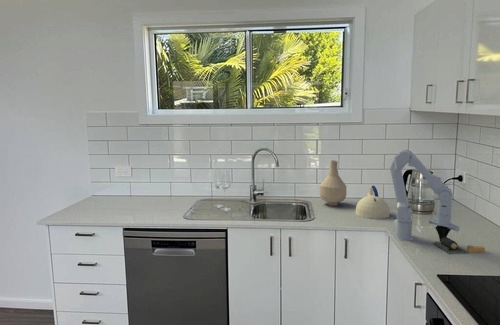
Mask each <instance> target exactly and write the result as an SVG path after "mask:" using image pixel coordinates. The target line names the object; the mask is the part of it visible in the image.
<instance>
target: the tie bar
mask: <svg viewBox="0 0 500 325" xmlns="http://www.w3.org/2000/svg"><path fill="white" fill-rule="evenodd" d="M485 249H486V248H485V246H482V245H477V246H475V245H474V246H473V245H472V244H471V245H470V244H469V245H467V246H466V252H468V253H485Z"/></svg>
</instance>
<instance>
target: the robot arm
mask: <svg viewBox="0 0 500 325" xmlns="http://www.w3.org/2000/svg"><path fill="white" fill-rule="evenodd" d="M406 165H407V166H408V167H412V168H415V169H416V170H417V171H418V172H419V174H421V175H422V176H423V177H424V179H426V182H425V184H426V185H427V186H428V187H429V188H430V189H431V190H432V192H433V193H435V194H436V195H437V198H438V204H437V216H436V219H433V218H428V224H432V225H435V227H434V228H435V231H436V233H437V235H438V239H439V242H441V239H442V238H443V237H447V238H448V235H449V233H450V231H451V230H453V231H454V232H458V231H460V226H459V225H456V224H453V223H452V222H451V220H452V219H451V218H452V199H453V191H452V189H451V188H449V186H448V185H446V184H444V182H443V181H442V178H441V177H440V176H437V175H433V174H432V172H430V170H429V169H428V168H427V167H426V166H425V165H424V164H423V162H422V161H421V160H420V159H419V158H418V157H417V156H416V155H415V154H413V152H412V151H411V150H410V149H403V150H402V151H400V152H398V153H397V154H396V155H395V156H394V158H393V161H392V163H391V166H390V174H391V180H392V184H393V188H394V194H395V198H396V210H397V211H396V215H395V216H396V219H394V221H393V224H392V225H393V226H392V227H393V228H392V233H391V234H390V235H391V236H392V237H394V238H395V239H397V240H399V241H412V240H413V241H415V240H416V239H415V238H414V237H412V234H413V233H412V231H413V219H412V216H413V214H414V212H413V209H412V207H411V206H410V205H411V204H410V202H409V201H408V198H407V196H408V195H407V191H406V186H405V182H404V176H403V171H402V170H403V169H404V167H405V166H406Z"/></svg>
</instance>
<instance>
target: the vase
mask: <svg viewBox="0 0 500 325" xmlns="http://www.w3.org/2000/svg"><path fill="white" fill-rule="evenodd" d="M319 196H320V198H321V200H323V201H324V202H326V203H327V205H328V206H333V207H334V206H338V204H340V203H341V202H343V201H344V200H346V197H347V185H346V184H345V183H344V181H343V180H342V177H340V176H339V169H338V160H329V168H328V175H327V176H326V177H325V178H324V180H323V181H322V182H321V183H320V186H319Z"/></svg>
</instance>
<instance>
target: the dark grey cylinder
mask: <svg viewBox="0 0 500 325" xmlns="http://www.w3.org/2000/svg"><path fill="white" fill-rule="evenodd" d="M441 244H443V245H444V246H446V247H448V248H449V250H450V251H456V250H457V249H456V248H457V245H458V243H457V241H454V240H453V239H451V238H449V237H448V236H447V237H443V238H442V239H441Z"/></svg>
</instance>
